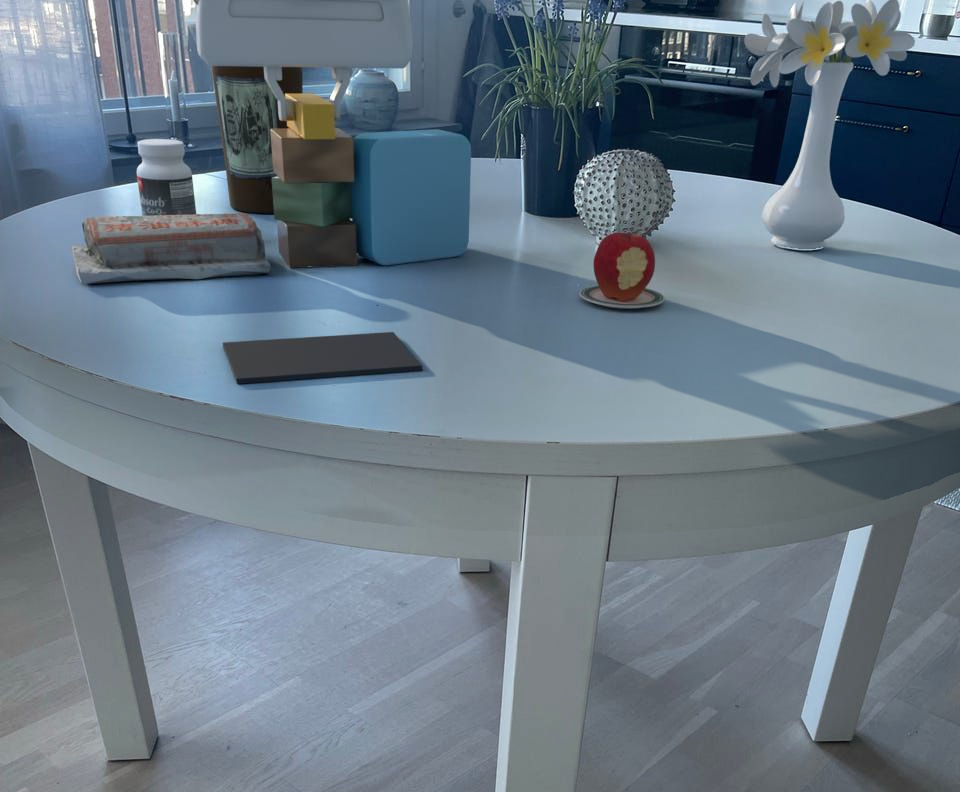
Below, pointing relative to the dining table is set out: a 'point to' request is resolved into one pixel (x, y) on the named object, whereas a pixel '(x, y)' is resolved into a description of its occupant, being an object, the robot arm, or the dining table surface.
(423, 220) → the data package
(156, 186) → the pill bottle
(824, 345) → the dining table surface
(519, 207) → the dining table surface
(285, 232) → the tower
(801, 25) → the flower vase
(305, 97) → the bar
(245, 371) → the mat
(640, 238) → the apple
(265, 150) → the olive oil
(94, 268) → the packaged product
